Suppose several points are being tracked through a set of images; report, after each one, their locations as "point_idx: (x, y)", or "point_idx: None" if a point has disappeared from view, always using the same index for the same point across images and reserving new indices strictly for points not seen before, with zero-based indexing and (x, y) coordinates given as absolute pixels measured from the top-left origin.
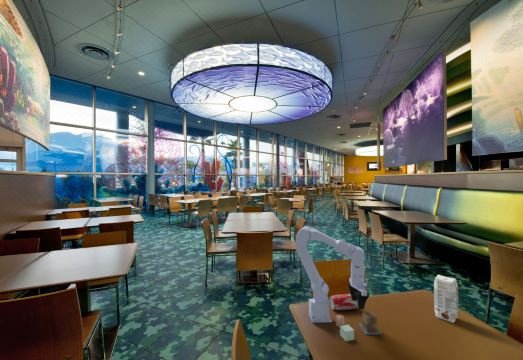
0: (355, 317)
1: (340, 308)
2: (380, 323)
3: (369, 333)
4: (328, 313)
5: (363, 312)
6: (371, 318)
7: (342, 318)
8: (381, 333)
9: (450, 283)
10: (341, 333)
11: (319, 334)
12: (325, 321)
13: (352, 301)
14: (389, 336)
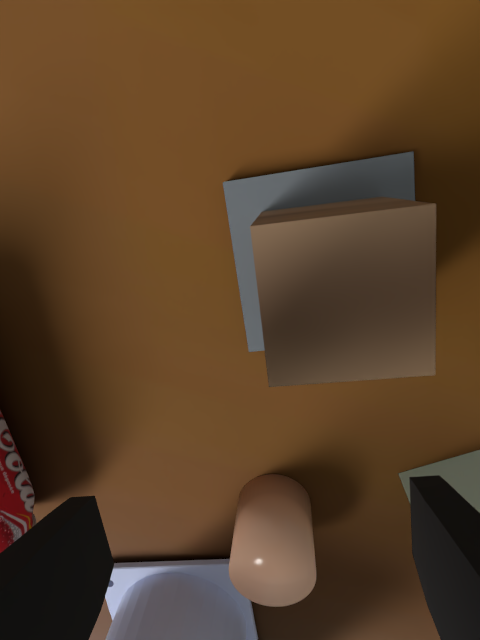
0: (112, 338)
1: (22, 471)
2: (181, 85)
3: None
4: (204, 636)
5: (282, 372)
6: (429, 293)
7: (307, 560)
8: (412, 153)
9: None
10: None
11: None
12: (249, 610)
13: None
14: (442, 66)
